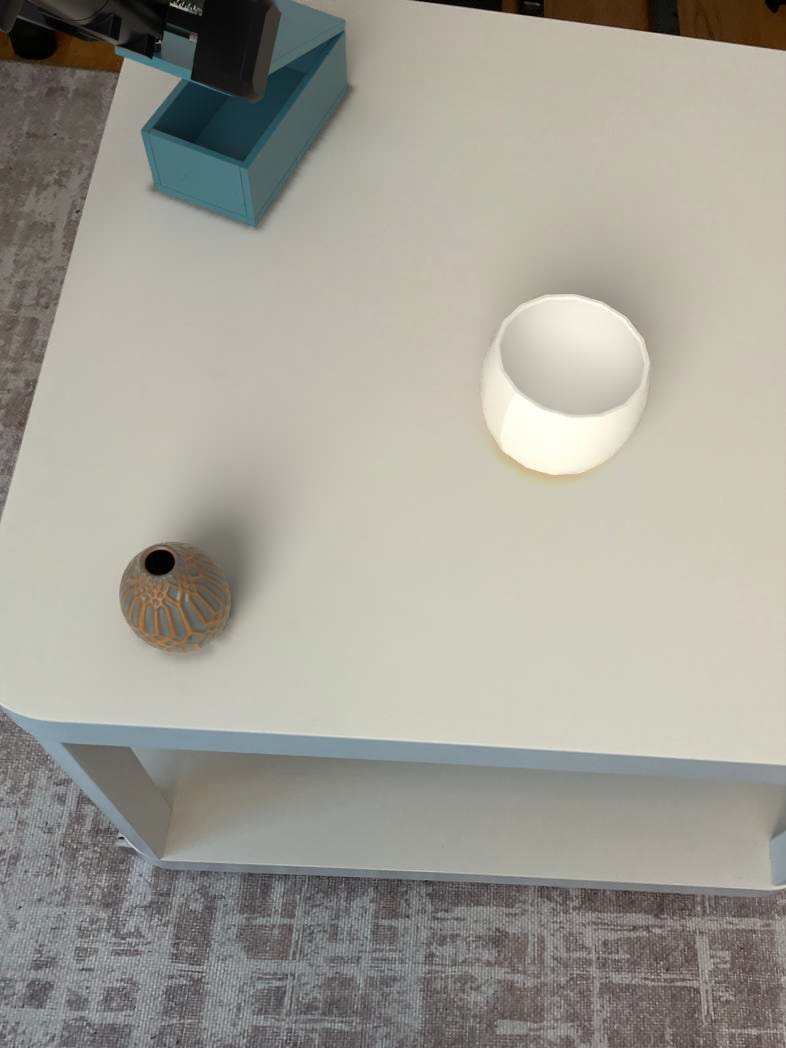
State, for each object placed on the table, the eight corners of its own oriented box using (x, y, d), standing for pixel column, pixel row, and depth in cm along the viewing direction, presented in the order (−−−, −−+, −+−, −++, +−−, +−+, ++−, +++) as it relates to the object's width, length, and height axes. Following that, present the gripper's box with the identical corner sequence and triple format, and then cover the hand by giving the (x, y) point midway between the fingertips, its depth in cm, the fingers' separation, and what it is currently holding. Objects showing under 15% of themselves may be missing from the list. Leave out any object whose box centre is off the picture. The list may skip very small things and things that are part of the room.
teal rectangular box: (255, 227, 78) (247, 169, 73) (155, 189, 78) (139, 130, 73) (347, 90, 86) (345, 30, 80) (255, 57, 86) (248, -6, 81)
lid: (232, 96, 66) (232, 35, 63) (114, 54, 67) (109, -10, 64) (345, 30, 80) (349, -24, 77) (247, -6, 81) (248, -60, 78)
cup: (655, 448, 73) (693, 368, 64) (545, 530, 69) (570, 457, 60) (551, 349, 76) (575, 261, 67) (440, 423, 72) (449, 338, 63)
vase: (255, 601, 64) (239, 541, 56) (203, 682, 62) (178, 631, 54) (170, 560, 65) (141, 495, 57) (114, 639, 62) (76, 582, 54)
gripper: (249, -149, 50) (339, -42, 64) (-59, -258, 50) (98, -127, 65) (206, 75, 54) (299, 128, 68) (-79, -29, 54) (73, 45, 69)
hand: (194, 41), depth 67 cm, fingers open, 6 cm apart
